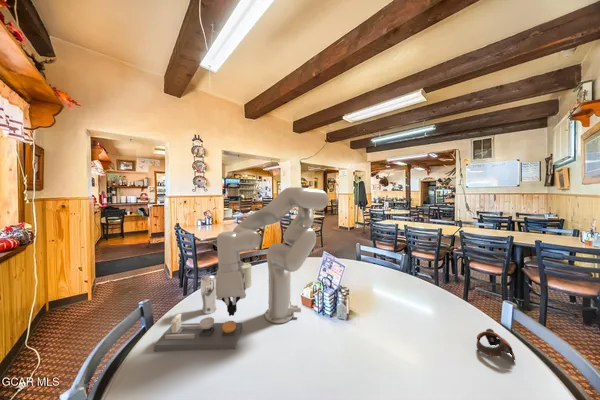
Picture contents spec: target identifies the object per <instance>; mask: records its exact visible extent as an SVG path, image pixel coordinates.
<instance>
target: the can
mask: <svg viewBox="0 0 600 400" xmlns="http://www.w3.org/2000/svg"><path fill="white" fill-rule="evenodd" d="M241 267H242V268H243V271H244V276H245V284H246V289H249V288H251V286H252V285H253V284H252V264H251V263H248V262H244V266H241Z"/></svg>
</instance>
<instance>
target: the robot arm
mask: <svg viewBox="0 0 600 400" xmlns="http://www.w3.org/2000/svg"><path fill="white" fill-rule="evenodd" d="M329 201H330V198H329V195H328V193H327V192H326V191H324V190H320V189H315V188H313V189H312V188H307V187H300V186H299V187H298V186H297V187H291V186H290V187H285V188H284V189H283V190H281V191H280V193H278V194H277V195H276V196H275V197H274V198H273V199H272V200H270V202H269V203H268V204H267V205H264V207H262V208H260V209H258V210H256V211H255V212H253V213H252V214H249V215H248V216H246V217H245V218H244V219H243V220H241V222H239V223H238V224H237V225H236V226H235V227H234V229H233V230H232V231H231V230H230V231H223V232H221V233H219V234H217V236H216V247H217V248H216V249H217V262H218V263H217V266H218V268H217V270H216V275H215V276H216V300H217V301H222V302H224V303H225V305H226V308H227V313H228V316H229V317H231V316H232V317H233V316H234V315H235V313H236V312H237V303H238V302H239V301H240V300H242V299H243V300H244V299H245V298H246V297H247V294H246V289H247V288H246V284H245V276H244V271H243V268H242V267H241V266H244V263H245V262H244V261H241V259H240V257H241V256H240V252H241V251H250V250H251V251H252V250H255V249H257V248H258V247H259V246H260V245H261V243H262V236H261V234H260V233H259V232H258V230H259V229H261V228H263V227H266V226H270V225H274V224H276V223H278V222H280V221H281V220H283V218H284V217H285V216H286V215H287V214H289V212H290V211H291V210H292V209H293V208H297V209H298V210H297V214H296V215H295V217H294V219H293V220H292V221H291V223H290V224H289V225H288V227H287V228H286V229H285V231H284V233H283V241H284V242H285V243H286V244H284V243H281V242H276V243H273V244H271V245H270V246H268V249H267V251H266V263H267V268H268V308H267V309H266V310H265V312H264V317H265V320H267V321H268V322H270V323H273V324H284V323H287V322H290V321H291V320H292V319H293V318H294V315H295V313H302V312H301V311H302V309H301V307H298V304H295V305H293V304H292V301H291V290H292V289H291V287H292V286H291V285H292V284H291V278H292V276H291V273H294V272H297V271H298V270H300V268H301V267H302V266H303V265H304V263H305V261H306V260H307V258H308V257H309V255H310V254H311V252H312V251H313V249H314V247H315V245H316V243H317V234H316V232H315V229H313V228H311V227H312V225H313V224H314V222H315V221H314V219H315V216H314V211H313V210H324V209H325V208H326V207H327V206H328V204H329ZM231 298H232V299H231Z"/></svg>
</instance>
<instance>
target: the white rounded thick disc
mask: <svg viewBox="0 0 600 400" xmlns="http://www.w3.org/2000/svg"><path fill="white" fill-rule="evenodd" d="M199 323H200V328H201V329H206V330H207V329H209V328H211V327H212V326H213V325H214V323H215V318H214V317H211V316H208V317H204V318H202V319H201V320H200V321H199Z"/></svg>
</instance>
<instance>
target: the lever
mask: <svg viewBox="0 0 600 400" xmlns="http://www.w3.org/2000/svg"><path fill="white" fill-rule="evenodd" d="M170 324H171V325H172V332H171V333H170V334H180V333H181V332H182V330H183V328H180V327H181V324H182V314H181V312H180V313H177V314H176V315H175V316H174V317H173V318H172V320H171V321H170Z"/></svg>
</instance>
